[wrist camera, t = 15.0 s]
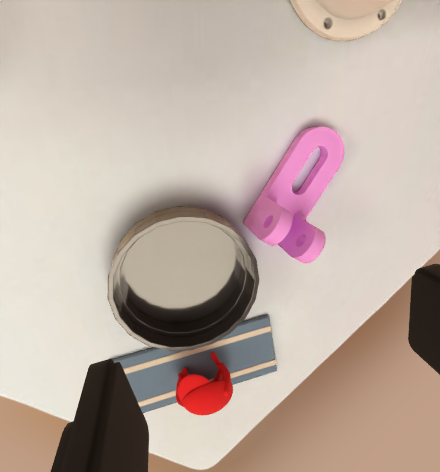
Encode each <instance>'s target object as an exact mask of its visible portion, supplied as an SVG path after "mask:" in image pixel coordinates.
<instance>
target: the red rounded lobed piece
mask: <svg viewBox="0 0 440 472" xmlns="http://www.w3.org/2000/svg"><path fill="white" fill-rule="evenodd" d="M211 358H212V359H213V361H214V362H215V364H216V366H217V368H218V371H217V374H216V376H215V378H214V379H213V380H212V381H211V382H210V381H209V380H208V379H207V378H205V377H204V376H201V375H198V374H191V375H187V374H188V369H187V368H183V369H182V371H181V373H179V374H178V381H177V386H176V400H177V402H178V404H180V405H181V406H183V407H185V409H186V410H188V411H189V412H191V413H193V414H196V415H209V414H212V413H215V412H217V411H219V410H221V409H222V408H223V407H224V406H226V404H227V403H228V402H229V400H230V399H231V396H232V393H233V386H232V383H231V376H230V373H229V371H228V369H227V367H226V366H225V364H224V363H221V362H220V361H219V359H218V357H217V356H216V354H215V353H214V352H211Z"/></svg>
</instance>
